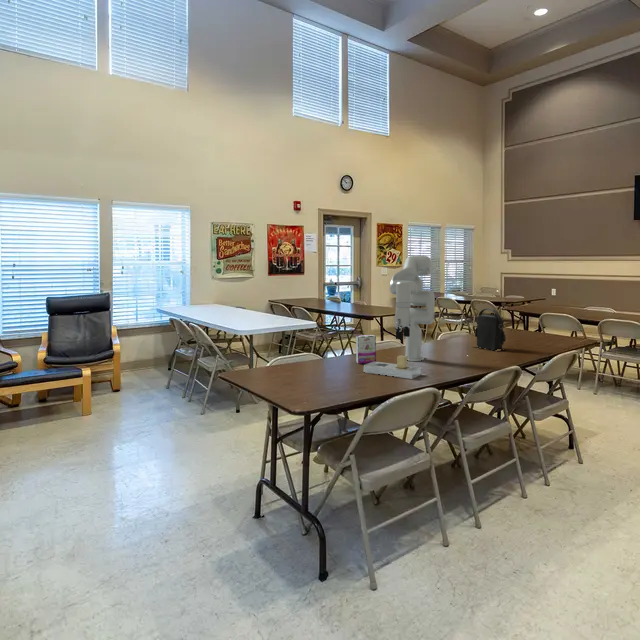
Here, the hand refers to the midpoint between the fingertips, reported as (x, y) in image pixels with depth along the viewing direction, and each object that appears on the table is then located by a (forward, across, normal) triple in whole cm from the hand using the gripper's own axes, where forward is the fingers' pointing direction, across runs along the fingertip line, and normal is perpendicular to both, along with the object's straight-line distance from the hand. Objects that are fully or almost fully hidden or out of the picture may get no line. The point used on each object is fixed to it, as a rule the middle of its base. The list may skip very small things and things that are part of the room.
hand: (402, 337), depth 247 cm
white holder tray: (+20, 0, -6) cm, 21 cm away
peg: (+20, 0, 0) cm, 20 cm away
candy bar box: (+20, -17, -31) cm, 41 cm away
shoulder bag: (+21, -102, +18) cm, 105 cm away
